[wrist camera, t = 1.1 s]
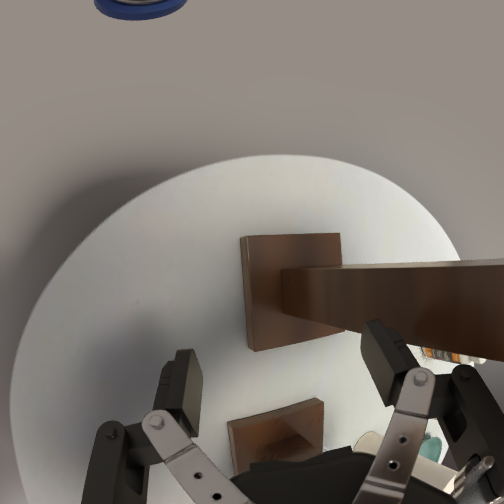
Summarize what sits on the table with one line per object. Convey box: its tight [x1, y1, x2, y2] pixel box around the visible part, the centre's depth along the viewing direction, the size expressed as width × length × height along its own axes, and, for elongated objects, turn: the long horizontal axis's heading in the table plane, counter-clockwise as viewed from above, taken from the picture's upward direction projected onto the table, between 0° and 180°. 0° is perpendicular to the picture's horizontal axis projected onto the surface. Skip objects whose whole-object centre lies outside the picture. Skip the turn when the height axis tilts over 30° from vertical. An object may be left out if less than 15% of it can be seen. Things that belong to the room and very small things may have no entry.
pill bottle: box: [422, 347, 486, 364], centre depth 32 cm, size 6×6×10 cm
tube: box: [354, 432, 458, 494], centre depth 25 cm, size 4×4×15 cm
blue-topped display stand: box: [228, 398, 324, 475], centre depth 17 cm, size 12×10×22 cm
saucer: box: [418, 437, 442, 463], centre depth 35 cm, size 15×15×3 cm
